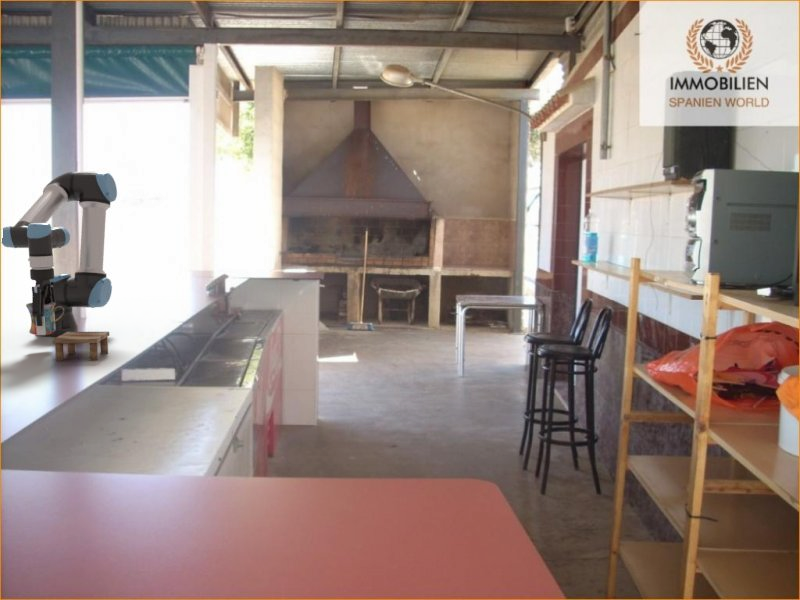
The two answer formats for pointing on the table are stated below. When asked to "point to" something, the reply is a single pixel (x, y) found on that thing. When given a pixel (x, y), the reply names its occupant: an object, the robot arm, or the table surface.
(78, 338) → the stool
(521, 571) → the table surface
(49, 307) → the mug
